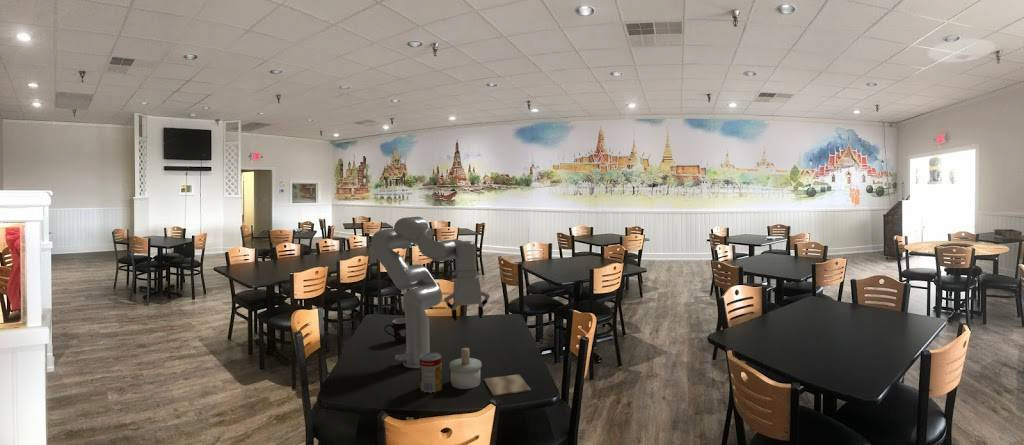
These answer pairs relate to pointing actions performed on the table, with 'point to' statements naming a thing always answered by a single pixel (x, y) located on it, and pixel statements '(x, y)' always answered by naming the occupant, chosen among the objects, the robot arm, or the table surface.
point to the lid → (465, 363)
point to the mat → (506, 385)
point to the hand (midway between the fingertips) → (467, 318)
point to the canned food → (431, 372)
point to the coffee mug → (398, 330)
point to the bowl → (465, 379)
